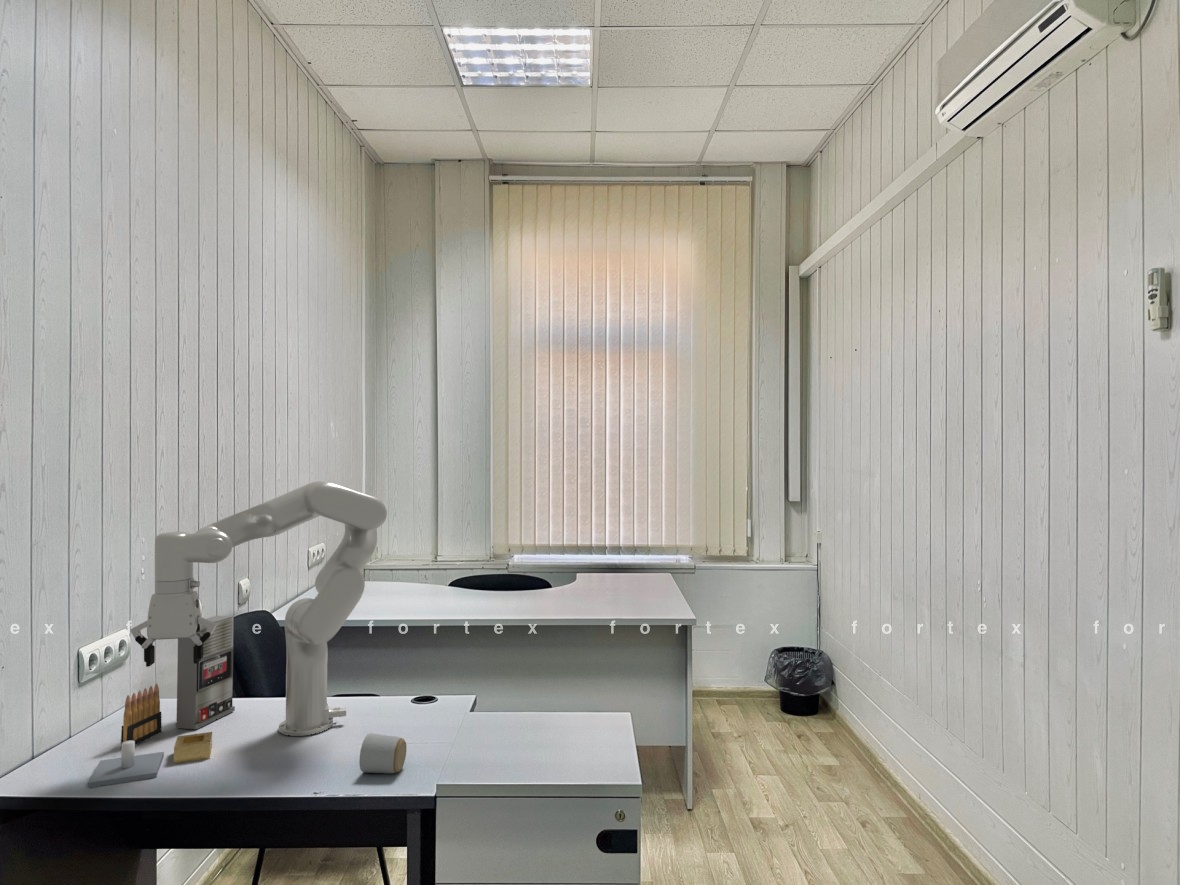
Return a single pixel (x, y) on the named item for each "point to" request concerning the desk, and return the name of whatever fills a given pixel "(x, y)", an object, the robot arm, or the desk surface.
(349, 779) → the desk surface
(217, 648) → the cassette tape recorder
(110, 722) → the desk surface
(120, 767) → the post plate
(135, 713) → the ammunition clip
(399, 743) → the grey tan-ended cylinder
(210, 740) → the collar
